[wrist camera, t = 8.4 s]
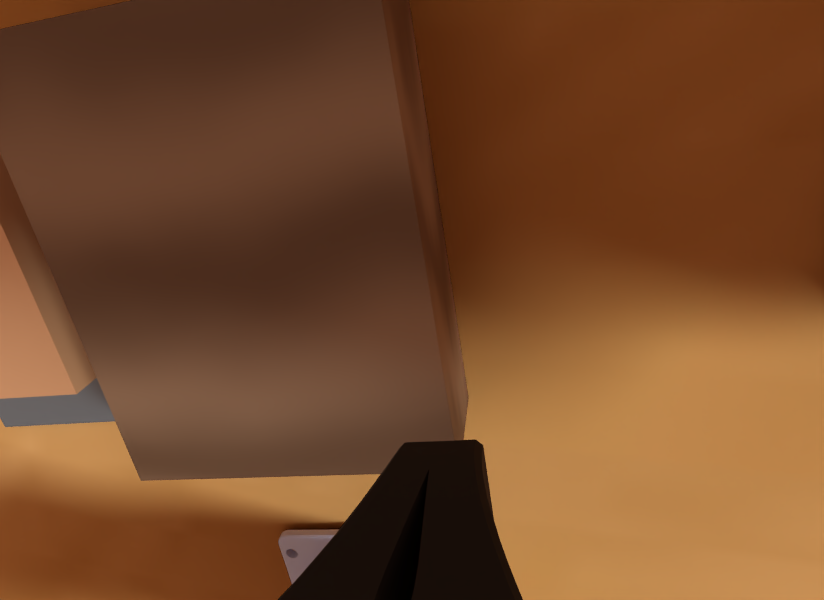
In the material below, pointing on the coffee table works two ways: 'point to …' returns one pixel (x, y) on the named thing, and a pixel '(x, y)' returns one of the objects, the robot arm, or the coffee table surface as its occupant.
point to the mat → (57, 408)
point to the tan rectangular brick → (33, 313)
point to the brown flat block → (242, 228)
